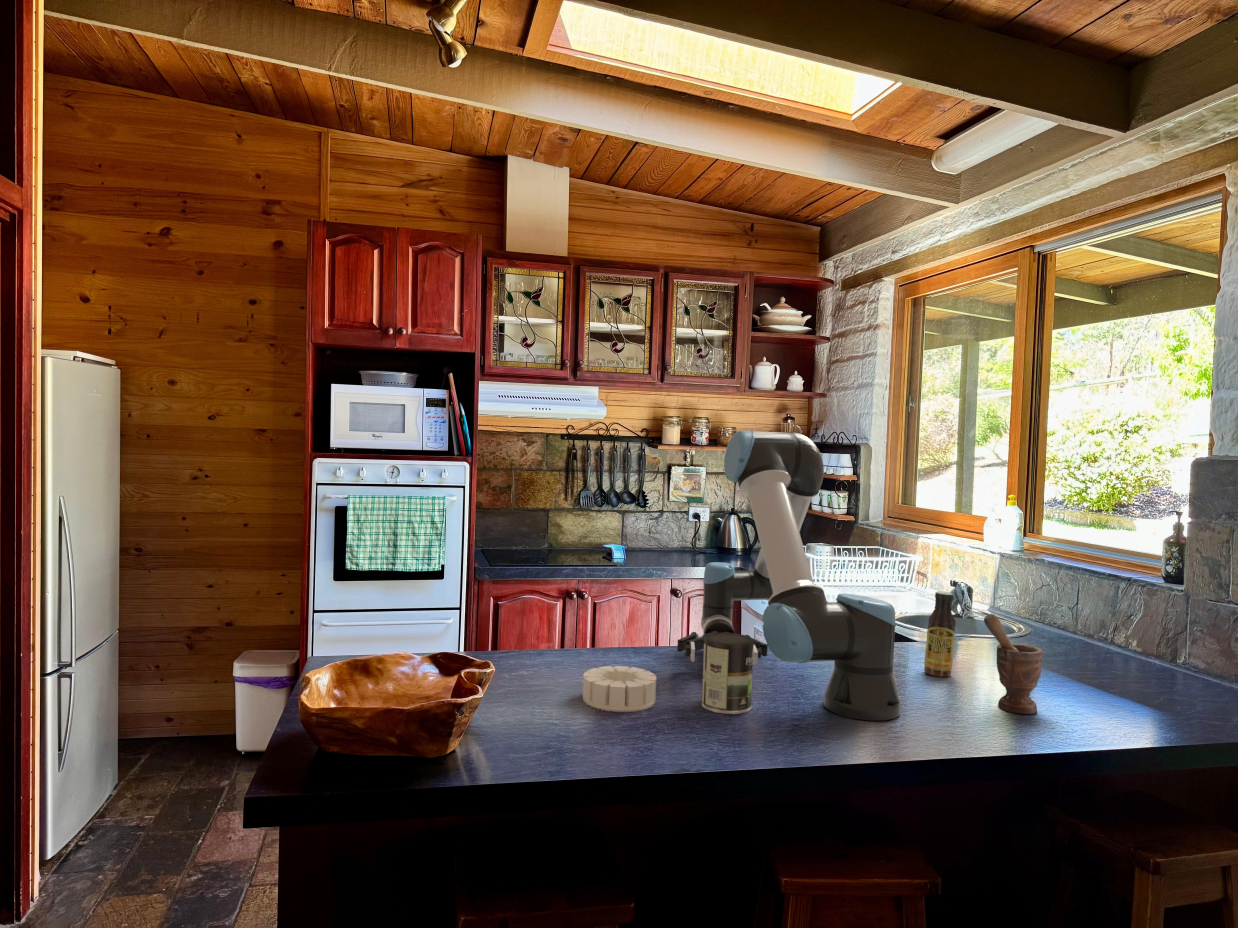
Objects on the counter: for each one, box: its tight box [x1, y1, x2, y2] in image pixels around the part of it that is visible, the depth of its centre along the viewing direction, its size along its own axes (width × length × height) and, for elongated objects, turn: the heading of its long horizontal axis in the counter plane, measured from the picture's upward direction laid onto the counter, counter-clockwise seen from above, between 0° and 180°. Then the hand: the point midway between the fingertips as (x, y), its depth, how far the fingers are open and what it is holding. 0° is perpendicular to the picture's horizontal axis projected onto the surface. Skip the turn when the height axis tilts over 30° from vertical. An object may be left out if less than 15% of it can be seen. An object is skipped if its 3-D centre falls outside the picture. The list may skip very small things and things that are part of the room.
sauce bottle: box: [923, 591, 956, 678], centre depth 197 cm, size 7×6×20 cm
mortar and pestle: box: [983, 613, 1043, 715], centre depth 172 cm, size 12×9×20 cm
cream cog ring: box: [581, 665, 657, 713], centre depth 169 cm, size 15×15×5 cm
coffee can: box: [701, 632, 755, 715], centre depth 168 cm, size 10×10×14 cm
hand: (724, 656), depth 177 cm, fingers open, 13 cm apart
